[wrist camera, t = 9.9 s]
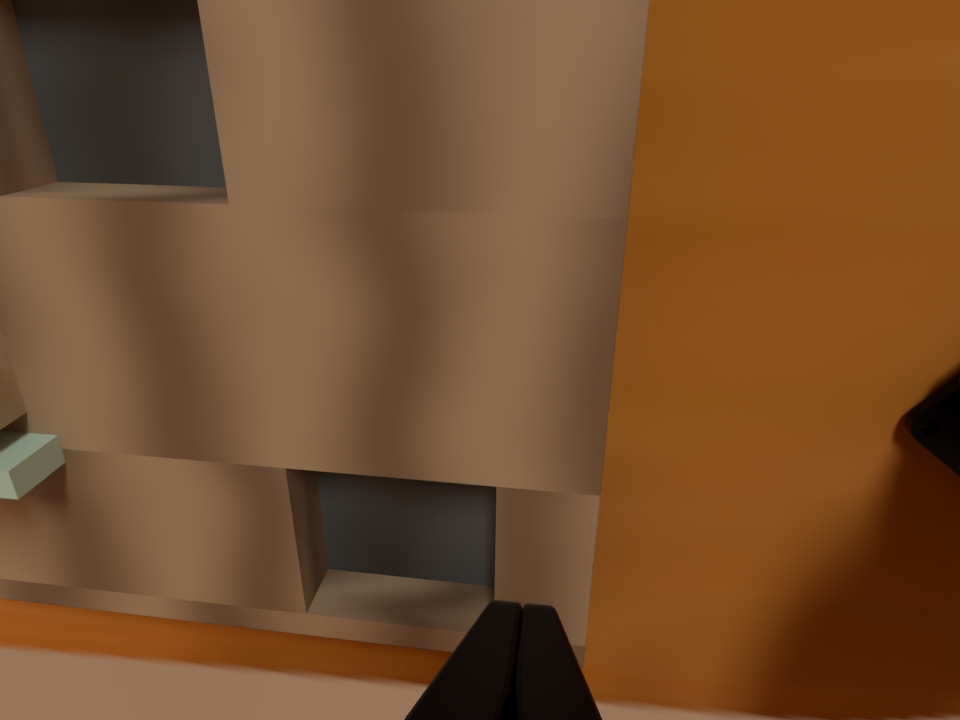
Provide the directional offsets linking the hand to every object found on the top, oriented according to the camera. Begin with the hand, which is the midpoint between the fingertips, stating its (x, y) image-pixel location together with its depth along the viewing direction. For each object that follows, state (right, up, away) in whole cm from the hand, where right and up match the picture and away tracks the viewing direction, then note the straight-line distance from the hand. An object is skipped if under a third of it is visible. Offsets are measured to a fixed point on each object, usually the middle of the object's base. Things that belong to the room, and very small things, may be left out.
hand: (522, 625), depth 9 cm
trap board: (-9, +5, +12) cm, 16 cm away
